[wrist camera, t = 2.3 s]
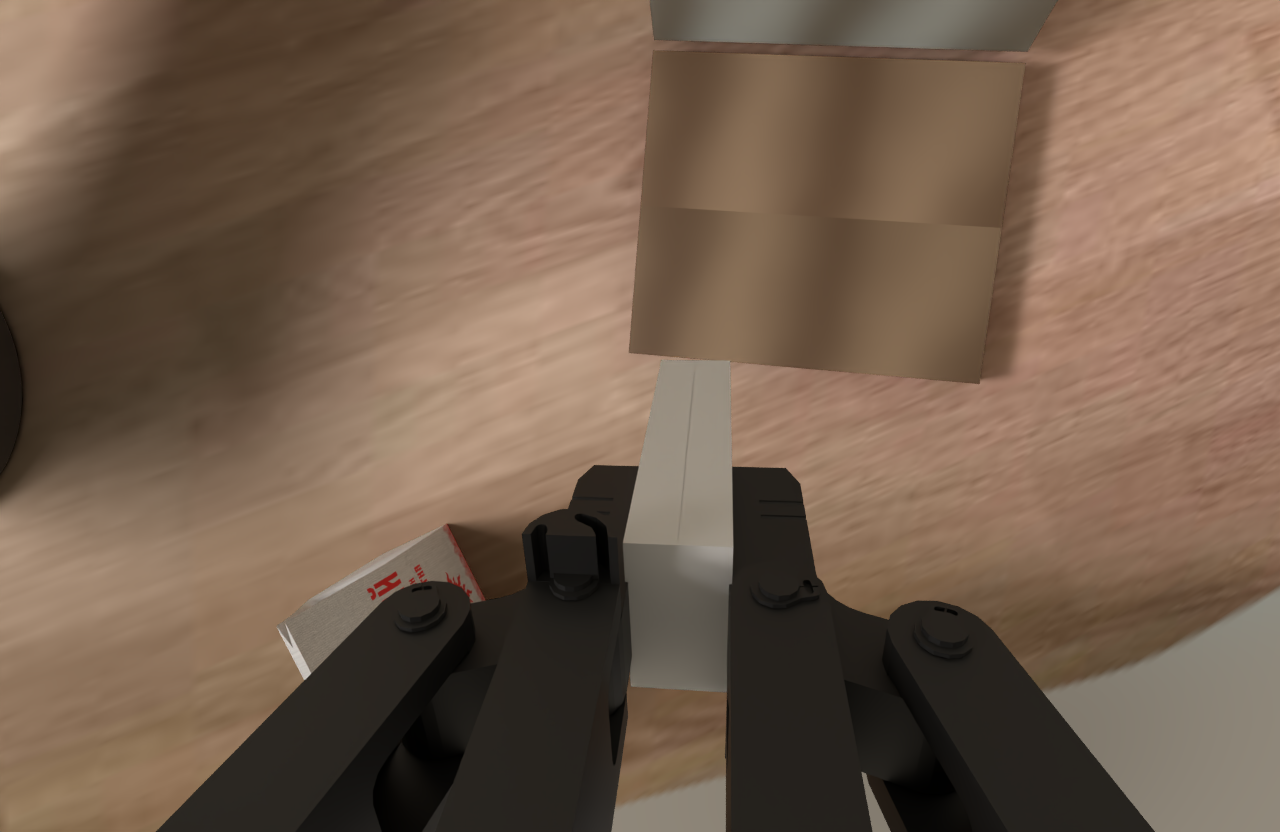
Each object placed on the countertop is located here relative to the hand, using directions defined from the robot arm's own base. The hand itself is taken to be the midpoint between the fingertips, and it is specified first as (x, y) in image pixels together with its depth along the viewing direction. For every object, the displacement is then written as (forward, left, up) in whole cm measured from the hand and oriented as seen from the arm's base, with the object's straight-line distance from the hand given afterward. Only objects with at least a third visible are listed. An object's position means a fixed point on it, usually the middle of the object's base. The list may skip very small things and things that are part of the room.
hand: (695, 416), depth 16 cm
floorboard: (+3, +7, -15) cm, 17 cm away
